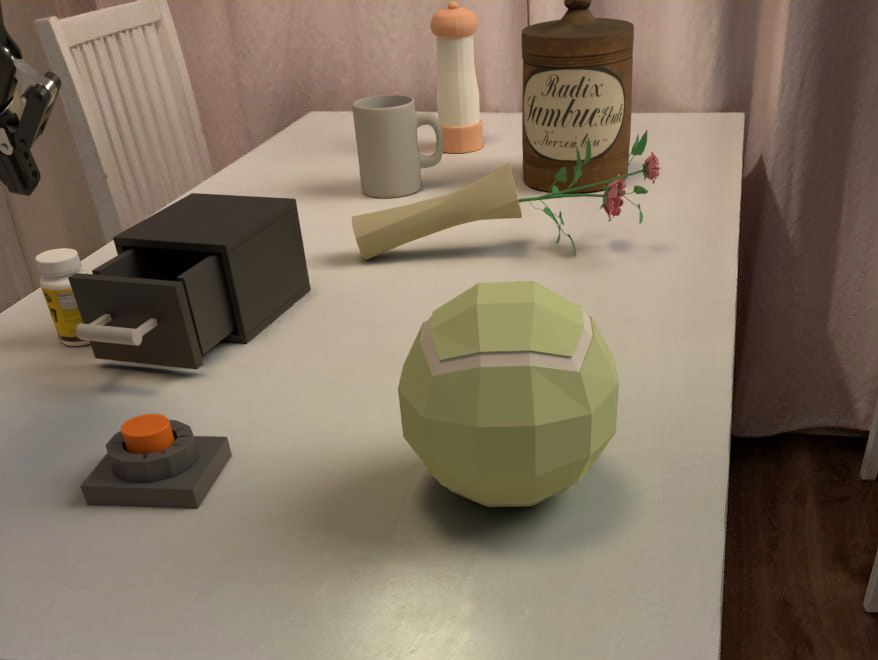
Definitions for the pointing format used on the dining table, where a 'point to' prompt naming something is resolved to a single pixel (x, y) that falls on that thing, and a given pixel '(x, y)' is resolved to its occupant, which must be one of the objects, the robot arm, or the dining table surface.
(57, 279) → the supplement bottle
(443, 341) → the tennis ball
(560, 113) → the wooden container
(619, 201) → the flower vase
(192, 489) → the control block
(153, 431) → the button
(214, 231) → the black cabinet
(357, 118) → the mug
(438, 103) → the pepper shaker
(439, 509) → the dining table surface
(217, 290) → the drawer
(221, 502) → the dining table surface
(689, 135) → the dining table surface
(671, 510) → the dining table surface
